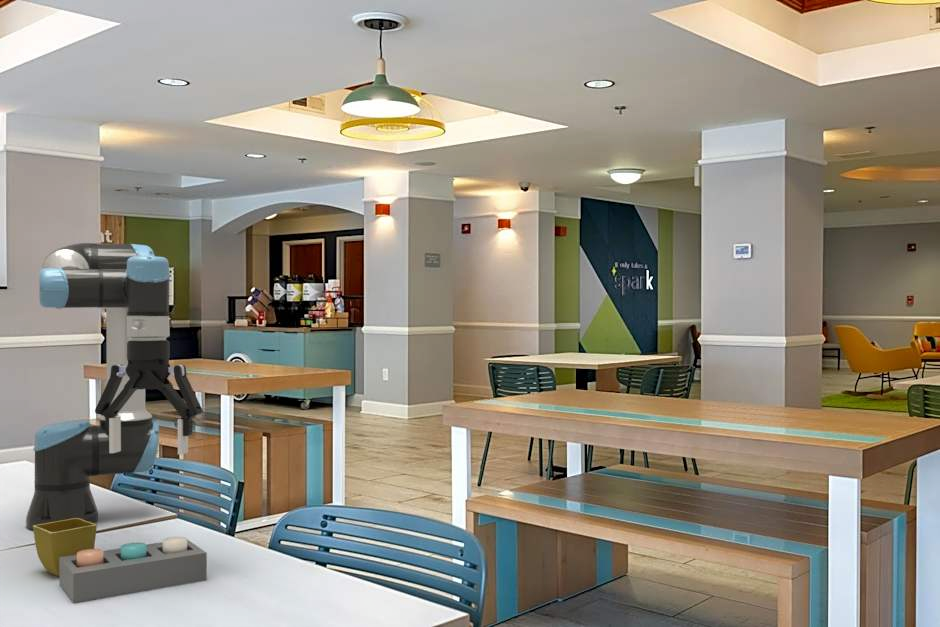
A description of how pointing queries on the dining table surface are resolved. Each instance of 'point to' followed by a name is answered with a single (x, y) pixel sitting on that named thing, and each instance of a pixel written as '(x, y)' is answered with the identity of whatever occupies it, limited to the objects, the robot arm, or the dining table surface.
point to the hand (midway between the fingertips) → (148, 453)
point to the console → (131, 572)
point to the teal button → (133, 551)
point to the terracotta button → (89, 557)
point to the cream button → (174, 545)
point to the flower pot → (62, 540)
